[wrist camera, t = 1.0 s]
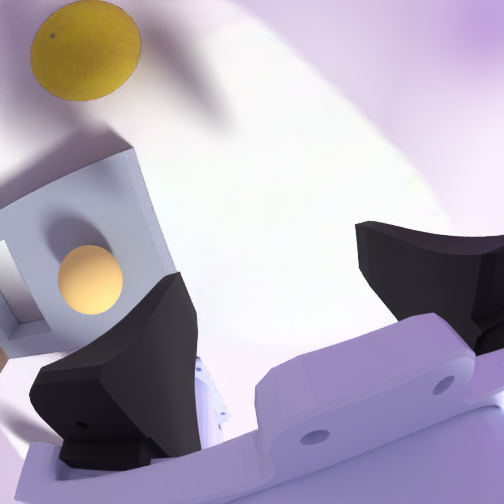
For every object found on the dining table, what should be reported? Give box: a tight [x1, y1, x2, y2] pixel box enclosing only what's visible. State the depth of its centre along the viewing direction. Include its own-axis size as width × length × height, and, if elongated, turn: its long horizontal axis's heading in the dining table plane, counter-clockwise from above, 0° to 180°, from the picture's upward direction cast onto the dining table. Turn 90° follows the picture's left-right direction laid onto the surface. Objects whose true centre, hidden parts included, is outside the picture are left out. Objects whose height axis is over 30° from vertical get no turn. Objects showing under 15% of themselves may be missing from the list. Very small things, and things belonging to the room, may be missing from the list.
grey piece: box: [0, 148, 177, 373], centre depth 18 cm, size 12×20×4 cm, turn 104°
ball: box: [58, 245, 123, 315], centre depth 16 cm, size 4×4×4 cm
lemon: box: [30, 0, 141, 101], centre depth 11 cm, size 6×6×8 cm
